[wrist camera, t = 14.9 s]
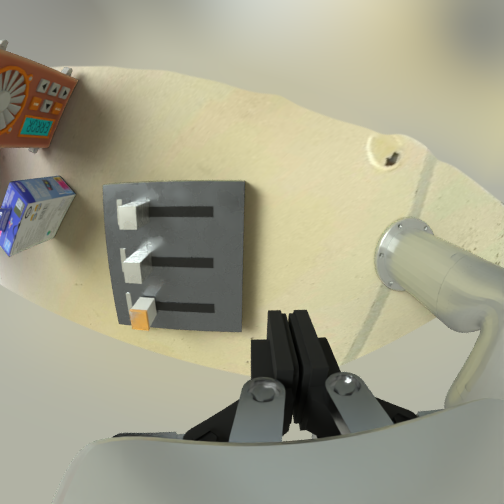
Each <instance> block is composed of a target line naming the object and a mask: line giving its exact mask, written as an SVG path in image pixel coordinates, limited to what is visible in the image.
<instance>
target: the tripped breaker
mask: <svg viewBox="0 0 504 504" xmlns="http://www.w3.org/2000/svg"><path fill="white" fill-rule="evenodd" d="M129 314H130V319H131V325H132V329H138V330H148V331H149V329H150V326H151V324H152V322H153V320H154V319H155V317H156V315H157V313H156V305H155V298H146V297H140V298H139V299H138V300H137V302H136V303H135V304H134V306H133V307H132V308H131V309H130V310H129Z"/></svg>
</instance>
